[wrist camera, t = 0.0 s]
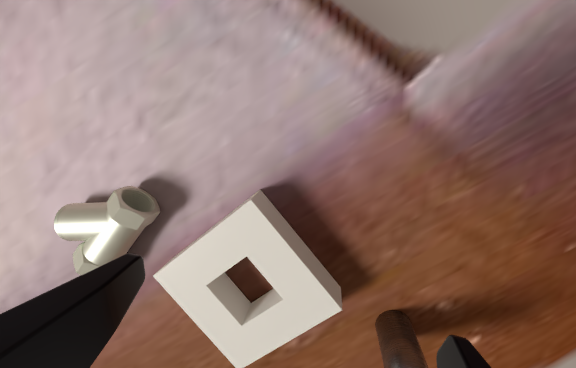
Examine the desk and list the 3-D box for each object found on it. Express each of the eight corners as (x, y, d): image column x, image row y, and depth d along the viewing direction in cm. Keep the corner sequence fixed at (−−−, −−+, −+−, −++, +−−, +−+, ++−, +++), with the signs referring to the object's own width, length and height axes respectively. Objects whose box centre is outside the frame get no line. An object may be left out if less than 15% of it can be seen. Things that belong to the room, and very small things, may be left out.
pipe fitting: (74, 220, 28) (125, 266, 28) (32, 233, 24) (90, 287, 24) (112, 158, 26) (168, 207, 26) (73, 163, 22) (137, 221, 22)
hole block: (247, 344, 28) (238, 370, 25) (172, 258, 27) (152, 276, 24) (340, 287, 25) (342, 309, 22) (260, 189, 24) (250, 199, 21)
